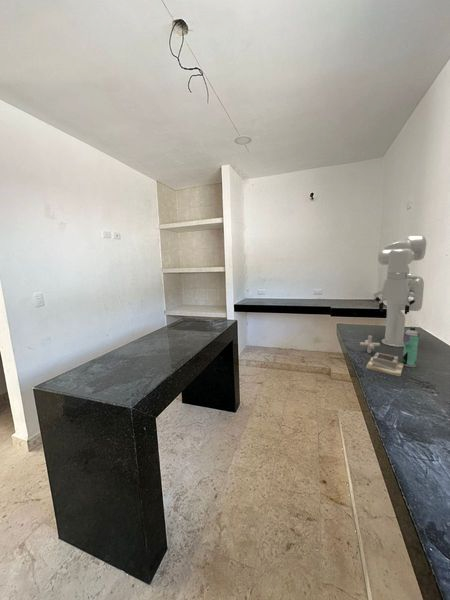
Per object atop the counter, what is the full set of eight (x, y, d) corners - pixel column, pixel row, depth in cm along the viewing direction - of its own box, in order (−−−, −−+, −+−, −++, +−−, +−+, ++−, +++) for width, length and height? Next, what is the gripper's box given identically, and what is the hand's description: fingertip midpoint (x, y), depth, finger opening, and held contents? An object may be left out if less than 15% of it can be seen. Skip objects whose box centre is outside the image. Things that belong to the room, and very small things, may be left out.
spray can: (413, 363, 125) (418, 326, 122) (416, 367, 120) (421, 329, 117) (401, 361, 128) (404, 325, 124) (403, 366, 123) (407, 328, 119)
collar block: (371, 358, 132) (372, 349, 131) (403, 365, 123) (404, 356, 122) (366, 368, 122) (366, 358, 121) (400, 376, 113) (401, 366, 112)
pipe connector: (382, 356, 135) (383, 339, 133) (362, 355, 137) (363, 338, 135) (375, 349, 145) (376, 333, 143) (356, 348, 147) (357, 333, 145)
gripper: (421, 276, 109) (417, 313, 112) (376, 275, 121) (374, 308, 124) (419, 277, 104) (415, 316, 107) (373, 276, 115) (370, 311, 118)
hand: (393, 312), depth 115 cm, fingers open, 9 cm apart
